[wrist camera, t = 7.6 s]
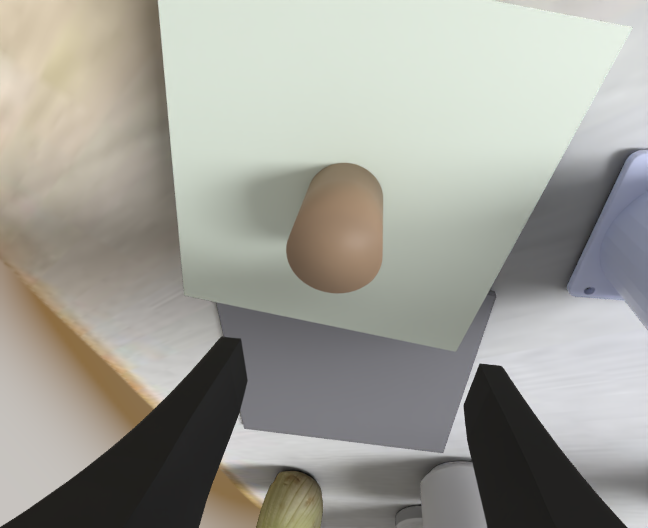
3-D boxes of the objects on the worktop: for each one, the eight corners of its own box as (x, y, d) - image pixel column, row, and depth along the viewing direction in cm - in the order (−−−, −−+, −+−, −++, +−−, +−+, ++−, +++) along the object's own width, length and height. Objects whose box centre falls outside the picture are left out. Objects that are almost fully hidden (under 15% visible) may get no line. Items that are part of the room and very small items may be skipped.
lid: (618, 25, 11) (739, 41, 7) (453, 340, 20) (470, 425, 16) (164, -62, 12) (53, -91, 8) (190, 285, 20) (143, 356, 16)
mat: (494, 291, 22) (496, 295, 21) (442, 448, 32) (443, 453, 31) (212, 269, 24) (209, 273, 23) (245, 424, 33) (244, 428, 33)
